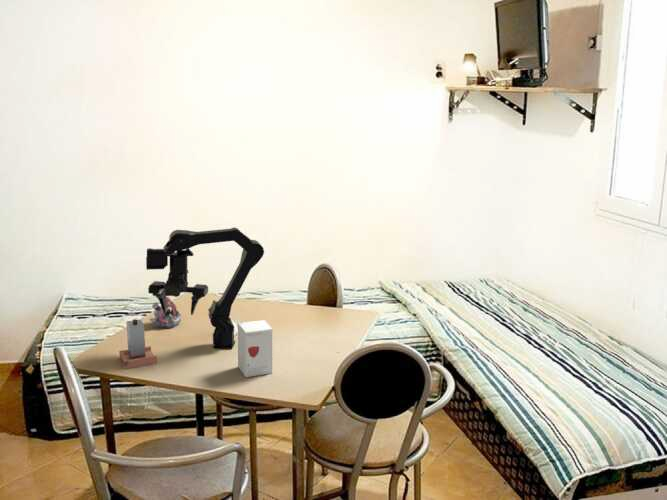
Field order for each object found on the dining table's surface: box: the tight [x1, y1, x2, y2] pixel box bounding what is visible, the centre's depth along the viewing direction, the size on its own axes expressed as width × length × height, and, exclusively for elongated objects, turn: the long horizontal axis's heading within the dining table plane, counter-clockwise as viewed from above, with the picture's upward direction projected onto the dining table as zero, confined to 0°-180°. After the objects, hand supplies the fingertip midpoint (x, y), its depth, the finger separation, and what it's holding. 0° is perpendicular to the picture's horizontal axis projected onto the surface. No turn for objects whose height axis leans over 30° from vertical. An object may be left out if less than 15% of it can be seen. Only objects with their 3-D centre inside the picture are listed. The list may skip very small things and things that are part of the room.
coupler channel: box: [119, 345, 158, 370], centre depth 203 cm, size 10×10×2 cm
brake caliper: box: [149, 296, 182, 329], centre depth 235 cm, size 11×11×12 cm
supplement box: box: [237, 319, 273, 378], centre depth 196 cm, size 9×9×15 cm
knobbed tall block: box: [125, 318, 146, 360], centre depth 201 cm, size 4×5×13 cm
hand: (178, 313), depth 209 cm, fingers open, 9 cm apart
